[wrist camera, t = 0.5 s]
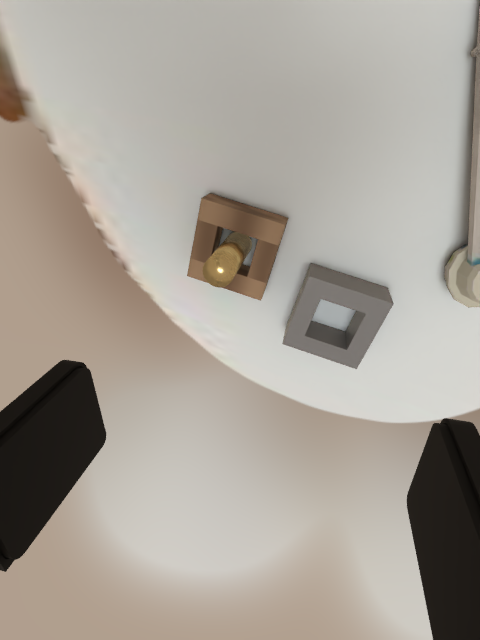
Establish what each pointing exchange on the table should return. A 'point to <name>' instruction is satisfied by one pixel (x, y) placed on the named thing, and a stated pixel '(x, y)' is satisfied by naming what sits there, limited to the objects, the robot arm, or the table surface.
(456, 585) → the robot arm
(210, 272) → the brass pin
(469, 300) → the light grey piece
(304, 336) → the charcoal dock
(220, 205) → the walnut mount
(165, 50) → the table surface
